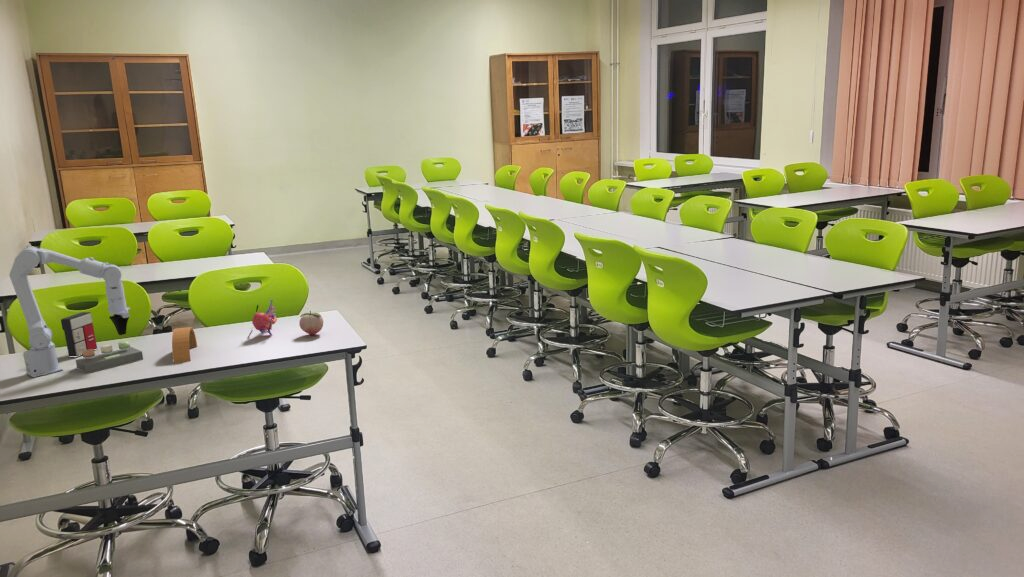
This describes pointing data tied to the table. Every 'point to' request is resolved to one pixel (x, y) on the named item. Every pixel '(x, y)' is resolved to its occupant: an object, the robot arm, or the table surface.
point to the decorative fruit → (311, 323)
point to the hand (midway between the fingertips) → (122, 334)
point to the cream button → (106, 349)
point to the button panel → (109, 359)
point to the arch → (183, 344)
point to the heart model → (264, 320)
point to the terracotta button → (88, 353)
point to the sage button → (124, 345)
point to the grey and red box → (79, 333)
